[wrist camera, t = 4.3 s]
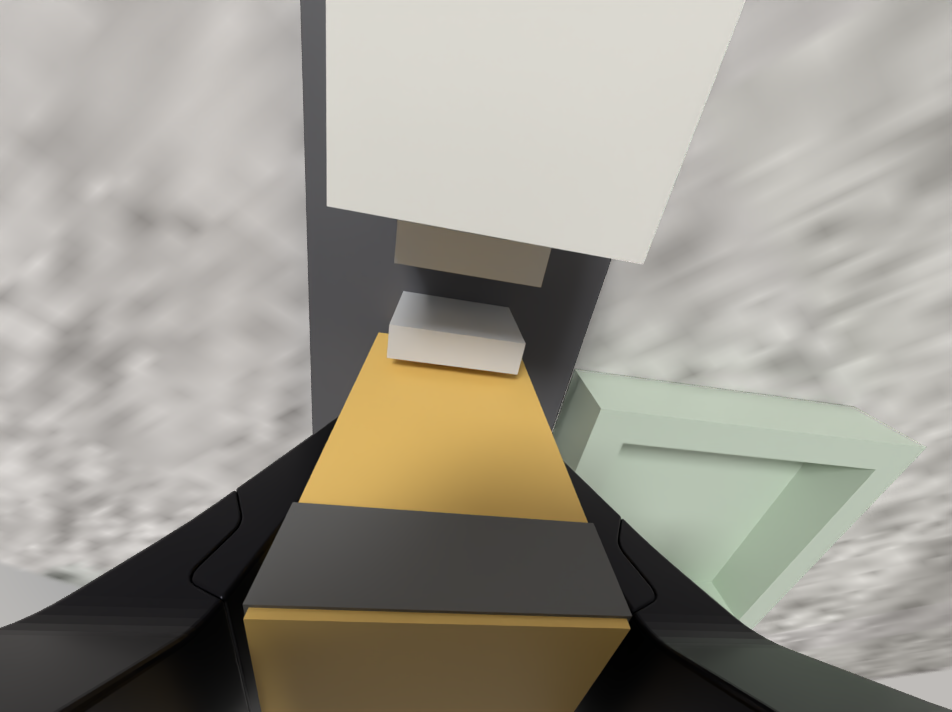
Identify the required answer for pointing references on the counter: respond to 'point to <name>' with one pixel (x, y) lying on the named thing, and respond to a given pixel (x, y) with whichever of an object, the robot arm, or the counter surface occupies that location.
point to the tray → (728, 477)
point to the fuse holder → (428, 282)
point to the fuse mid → (519, 113)
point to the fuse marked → (434, 558)
